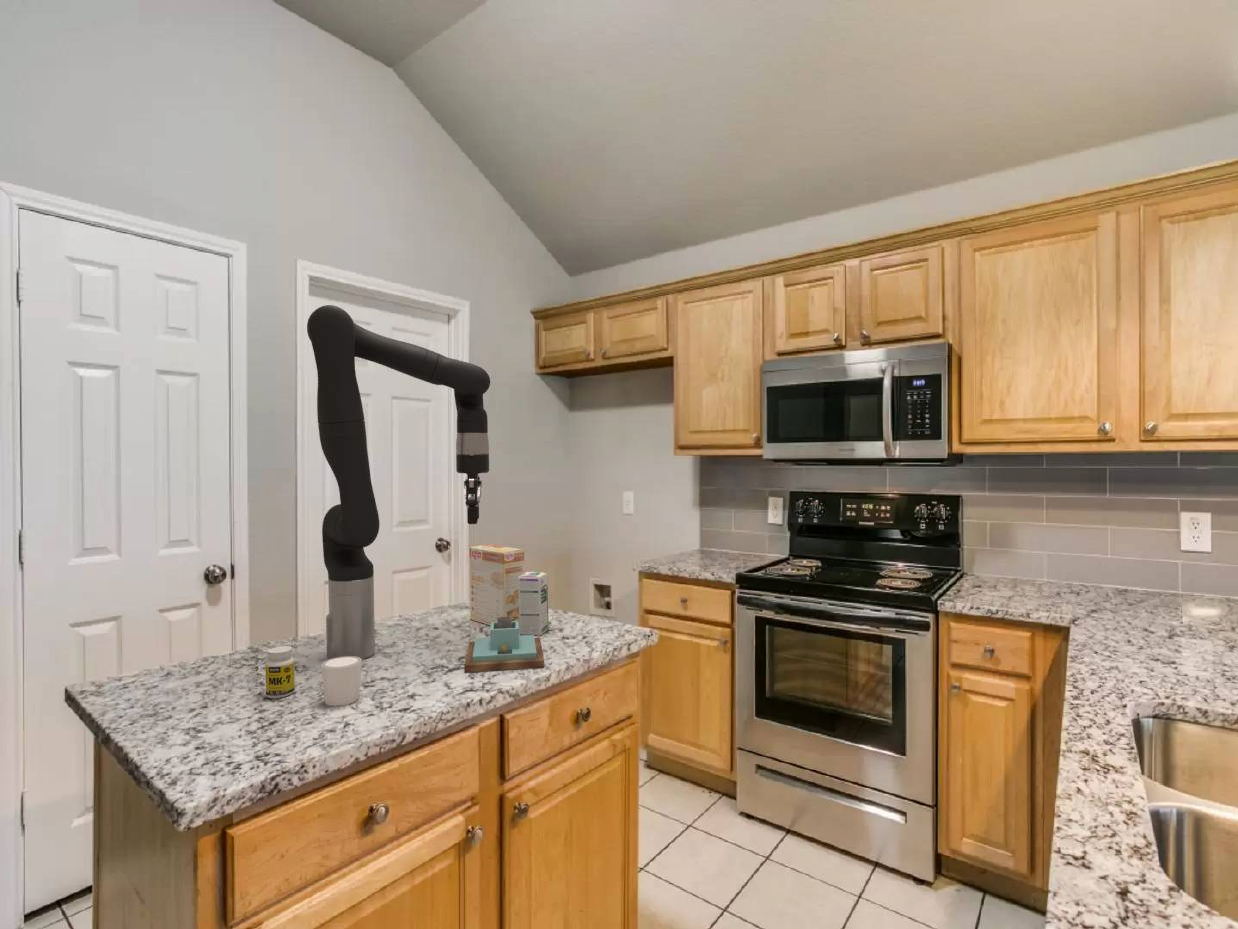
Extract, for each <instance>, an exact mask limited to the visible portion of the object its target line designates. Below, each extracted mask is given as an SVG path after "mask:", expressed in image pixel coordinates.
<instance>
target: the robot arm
mask: <svg viewBox="0 0 1238 929" xmlns="http://www.w3.org/2000/svg"><path fill="white" fill-rule="evenodd" d="M306 330H307V331H306V332H307V336H308V339H309V340H310V343H311V347H312V351H313V355H314V359H315V364H316V370H317V372H316V373H317V390H316V391H317V393H316V394H317V396H316V403H317V404H316V408H317V409H316V411H317V412H316V413H317V414H316V415H317V426H318V437H319V443H320V447H321V450H322V452H323V456H324V457H325V459H326V461H327V463H328V465H329V467H330V469H331V471H332V473H333V475H334V478H335V481H336V483H337V486H338V490H339V501H340V503H338V504H336V505H333V506H331V508H329V509H328V510H327V511H326V513H325V515H324V517H323V520H322V527H321V537H322V538H321V539H322V552H323V554H322V555H323V562H324V566H325V569H326V570H327V581H328V583H327V584H328V586H327V588H328V614H327V615H326V617H325V624H326V625H325V627H326V628H325V629H326V630H325V631H326V632H325V634H326V636H325V638H326V660H329V659H332V658H337V657H343V656H355V657H359V658H361V659H362V660H363V659H367V658H369V657H372V656H373V655H375V652H376V650H375V649H376V638H375V637H376V635H375V634H376V633H375V632H376V631H375V630H376V629H375V628H376V627H375V625H376V624H375V623H376V622H375V582H374V581H375V580H374V579H375V578H374V577H375V576H374V572H375V571H374V570H375V568H374V564H373V562H372V561H371V560H370V559H369V558H368V557H367V555H366V552H365V548H366V547H369V546H370V545H371V544H373V543H374V542H375V540H376V539H377V537H378V535H379V531H380V516H379V510H378V506H377V503H376V498H375V493H374V488H373V484H372V483H373V482H372V477H371V470H370V469H371V468H370V460H369V451H368V441H367V440H368V439H367V429H366V421H365V414H364V413H365V412H364V408H363V403H362V401H363V400H362V396H361V391H360V387H359V383H358V380H357V374H356V363H355V362H356V358H358V359H361V360H365V361H370V362H372V363H376V364H379V365H381V366H383V367H387V368H388V369H389V368H390V369H391V370H395V371H397V372H399V373H401V374H404V375H407V376H410V377H412V378H415V379H418V380H420V381H423V382H425V383H428V384H431V385H436V386H444V387H447V388H450V389H453V392H454V402H455V403H454V404H455V407H456V408H455V409H456V415H457V416H456V442H455V458H456V459H455V460H456V461H455V463H456V464H455V465H456V467H455V468H456V473H457V474H466V475H467V477H466V478H465V480H464V481H463V488H464V499H465V506H466V508H467V512H466V513H467V514H466V515H467V521H466V522H467V524H468V525H476V524H478V520H479V518H480V502H481V497H482V486H483V481H482V480H481V478H480V475H479V474H487V473H489V472H490V441H489V436H488V431H489V430H488V429H489V428H488V413H487V410H485V408H484V394H486V392H487V391H488V390H489V388H490V386H491V378H490V375H489V373H488V372H487V371H486V370H485V369H484V368H482V367H481V366H479V365H476V364H474V363H470V362H466V361H463V360H459V359H454V358H452V357H448V356H445V355H443V354H440V353H438V352H436V351H433V350H430V349H427V348H426V347H422V346H421V345H416V344H413V343H410V342H406V341H401V340H397V339H393V338H390V337H386V336H384V335H381V334H378V333H376V332H373V331H371V330H369V329H366V328H364V327H362V326H360V325H358V324H357V323H356V322H354V320H353V318H352V317H351V315H350V314H349V312H347V311H346V310H344V308H341V307H339V306H337V305H333V304H332V305H331V304H327V305H322V306H320V307H318V308H316V309H314V310H313V311H312V312H311V313H310V315H309V318H307V323H306Z"/></svg>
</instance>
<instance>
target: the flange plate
mask: <svg viewBox="0 0 1238 929" xmlns="http://www.w3.org/2000/svg"><path fill="white" fill-rule="evenodd" d="M489 632H490V633H489V637H476V638H475V640H474V642H475V645H474V651H473V662H489V661H505V660H521V659H537V656H536V646H535V639H534V638H535V636H534V635H520V630H519V622H518V621H512V628H503V629H498V625H497V622H491V626H490V629H489ZM503 645H507V654H502V646H503Z"/></svg>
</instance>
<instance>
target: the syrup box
mask: <svg viewBox="0 0 1238 929" xmlns="http://www.w3.org/2000/svg"><path fill="white" fill-rule="evenodd" d="M548 586H549V585H548V573H547V572H546V571H545V572H544V571H526V572H524V574H523V575H521V576H519V577H518V592H519V635H520V636H522V635H537V636H538V637H541V635H542V636H543V635H544V634H545V633H546V632H547V631H548V630H549V628H550V626H549V592H548V588H549V587H548ZM537 636H536V637H537Z"/></svg>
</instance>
